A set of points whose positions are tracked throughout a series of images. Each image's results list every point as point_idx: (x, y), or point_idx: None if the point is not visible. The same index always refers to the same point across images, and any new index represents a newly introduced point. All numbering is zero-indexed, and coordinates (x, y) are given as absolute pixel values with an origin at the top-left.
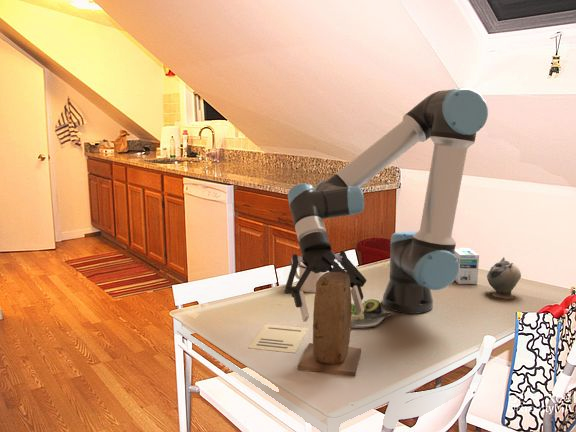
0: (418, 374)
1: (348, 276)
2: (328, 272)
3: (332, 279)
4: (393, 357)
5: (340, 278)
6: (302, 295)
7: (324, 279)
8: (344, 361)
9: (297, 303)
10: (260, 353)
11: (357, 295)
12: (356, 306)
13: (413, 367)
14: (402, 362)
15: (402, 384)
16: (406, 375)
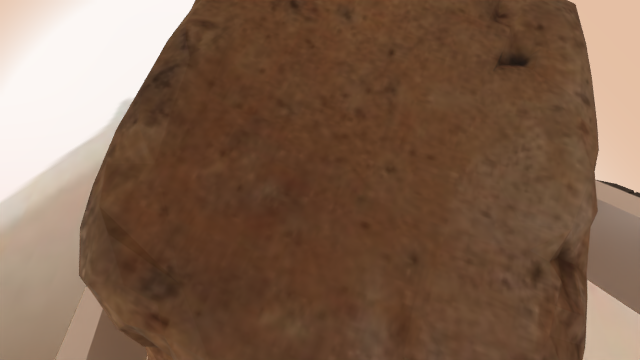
0: (18, 202)
1: (111, 145)
2: (506, 345)
3: (396, 11)
4: (54, 343)
5: (272, 48)
6: (623, 202)
7: (510, 19)
8: None
9: (608, 183)
10: (594, 351)
11: (82, 355)
12: (135, 351)
13: (11, 255)
14: (35, 296)
15: (103, 138)
16: (65, 194)
